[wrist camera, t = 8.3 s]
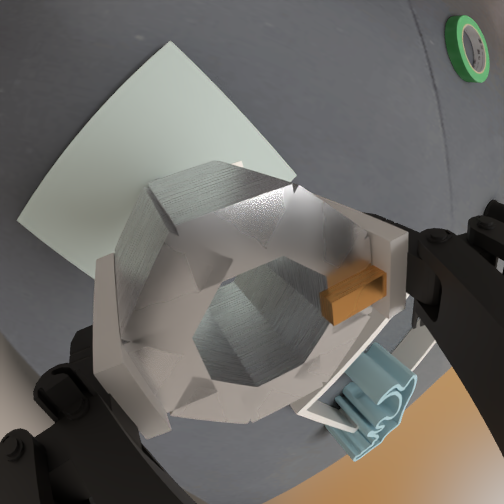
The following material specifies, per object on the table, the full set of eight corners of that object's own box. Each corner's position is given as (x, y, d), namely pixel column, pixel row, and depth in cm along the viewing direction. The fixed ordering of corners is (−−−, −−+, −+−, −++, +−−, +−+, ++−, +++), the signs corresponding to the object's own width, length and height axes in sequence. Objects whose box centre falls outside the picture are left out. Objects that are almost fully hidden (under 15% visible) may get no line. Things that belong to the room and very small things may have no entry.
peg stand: (21, 215, 21) (-18, 258, 13) (167, 45, 21) (196, 4, 13) (161, 316, 30) (185, 383, 22) (288, 172, 30) (355, 193, 22)
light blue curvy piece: (366, 404, 54) (396, 434, 46) (323, 428, 51) (352, 463, 43) (380, 333, 46) (422, 366, 38) (329, 359, 43) (369, 400, 35)
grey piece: (158, 345, 14) (198, 462, 8) (94, 203, 11) (76, 277, 5) (293, 286, 16) (383, 363, 10) (264, 144, 13) (381, 164, 7)
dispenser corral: (278, 389, 40) (296, 414, 36) (405, 241, 40) (433, 255, 36) (337, 414, 50) (353, 433, 46) (434, 302, 50) (455, 315, 46)
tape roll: (442, 4, 30) (456, 2, 28) (476, 35, 34) (488, 35, 32) (442, 65, 33) (457, 65, 31) (476, 91, 38) (489, 92, 36)
